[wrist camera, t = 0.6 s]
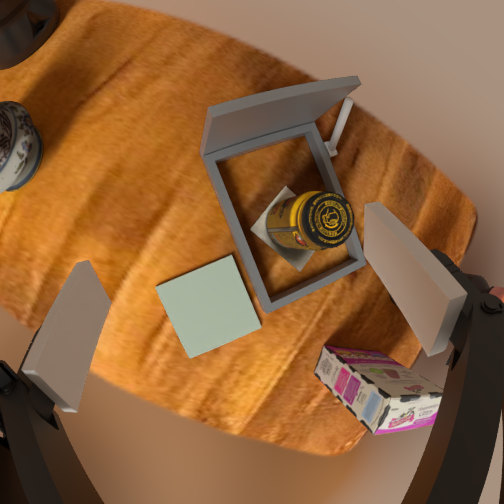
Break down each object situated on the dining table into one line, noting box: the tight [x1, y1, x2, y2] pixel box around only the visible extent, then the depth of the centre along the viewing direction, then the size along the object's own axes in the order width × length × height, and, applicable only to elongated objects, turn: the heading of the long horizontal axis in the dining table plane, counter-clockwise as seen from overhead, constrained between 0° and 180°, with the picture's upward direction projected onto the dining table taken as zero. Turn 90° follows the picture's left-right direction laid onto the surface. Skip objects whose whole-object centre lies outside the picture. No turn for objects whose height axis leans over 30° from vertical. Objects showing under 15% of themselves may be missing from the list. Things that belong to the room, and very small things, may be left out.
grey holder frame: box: [199, 76, 366, 314], centre depth 31 cm, size 21×16×14 cm
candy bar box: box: [314, 345, 444, 435], centre depth 33 cm, size 11×5×16 cm, turn 76°
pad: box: [155, 255, 262, 358], centre depth 36 cm, size 10×10×1 cm
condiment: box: [250, 186, 354, 271], centre depth 32 cm, size 7×8×12 cm
